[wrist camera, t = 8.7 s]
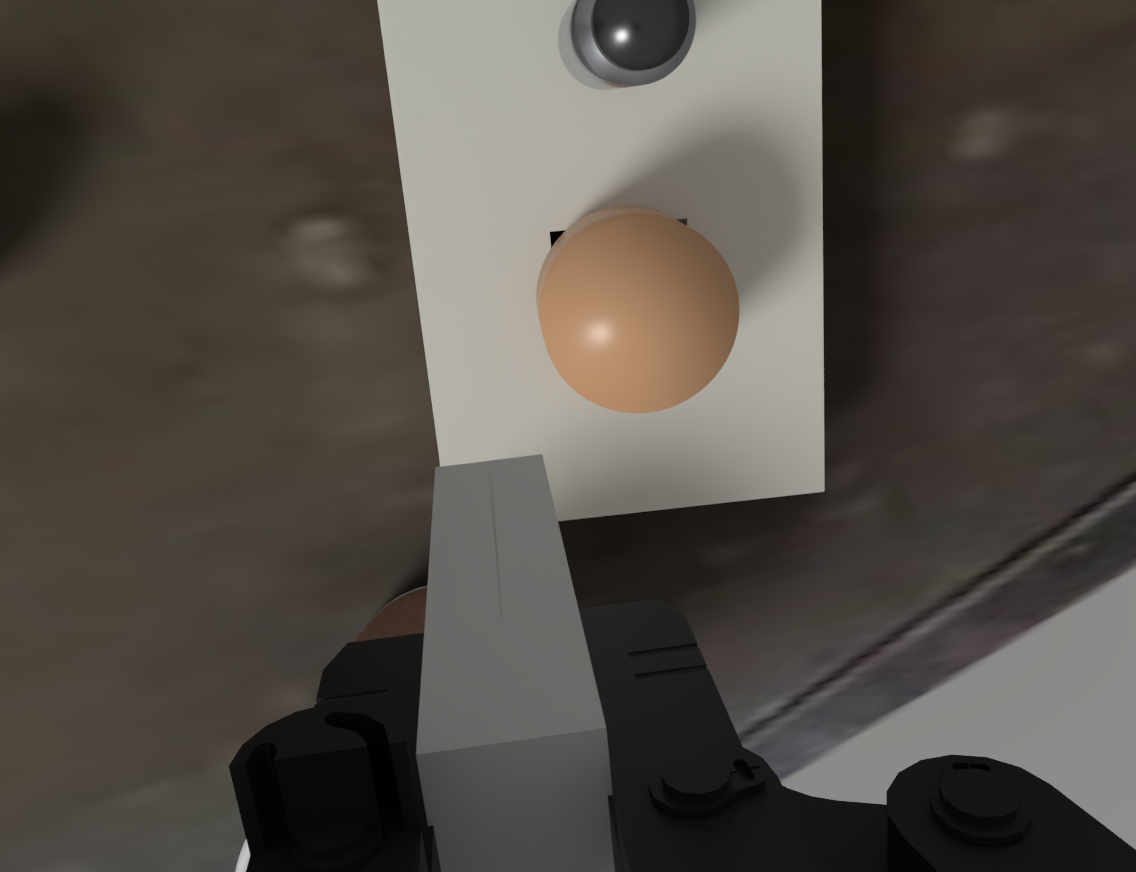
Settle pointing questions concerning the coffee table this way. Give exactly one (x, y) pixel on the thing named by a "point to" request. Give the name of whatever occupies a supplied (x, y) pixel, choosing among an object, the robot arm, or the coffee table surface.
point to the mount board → (595, 182)
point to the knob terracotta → (636, 309)
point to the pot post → (625, 40)
